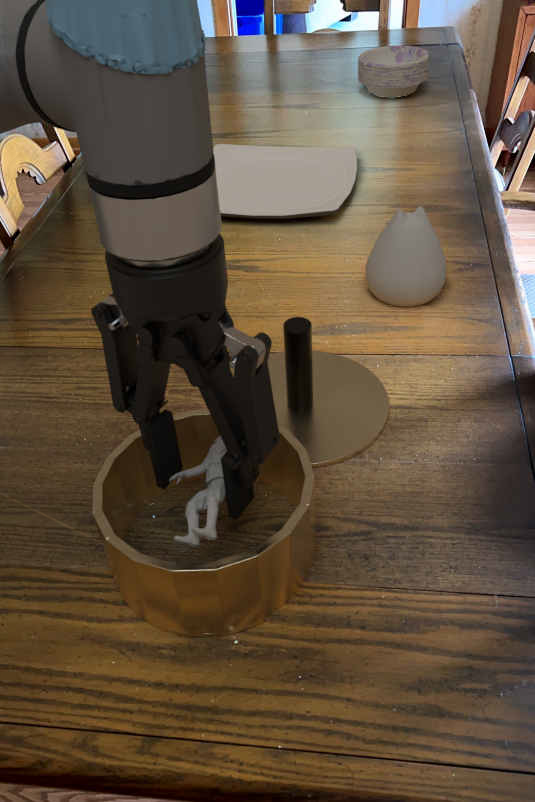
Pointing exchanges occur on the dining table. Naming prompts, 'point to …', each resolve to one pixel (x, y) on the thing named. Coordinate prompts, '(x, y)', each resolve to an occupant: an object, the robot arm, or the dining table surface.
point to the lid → (325, 398)
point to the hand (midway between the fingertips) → (205, 491)
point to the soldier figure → (204, 496)
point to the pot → (205, 581)
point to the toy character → (406, 261)
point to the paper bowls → (393, 69)
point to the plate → (283, 180)
